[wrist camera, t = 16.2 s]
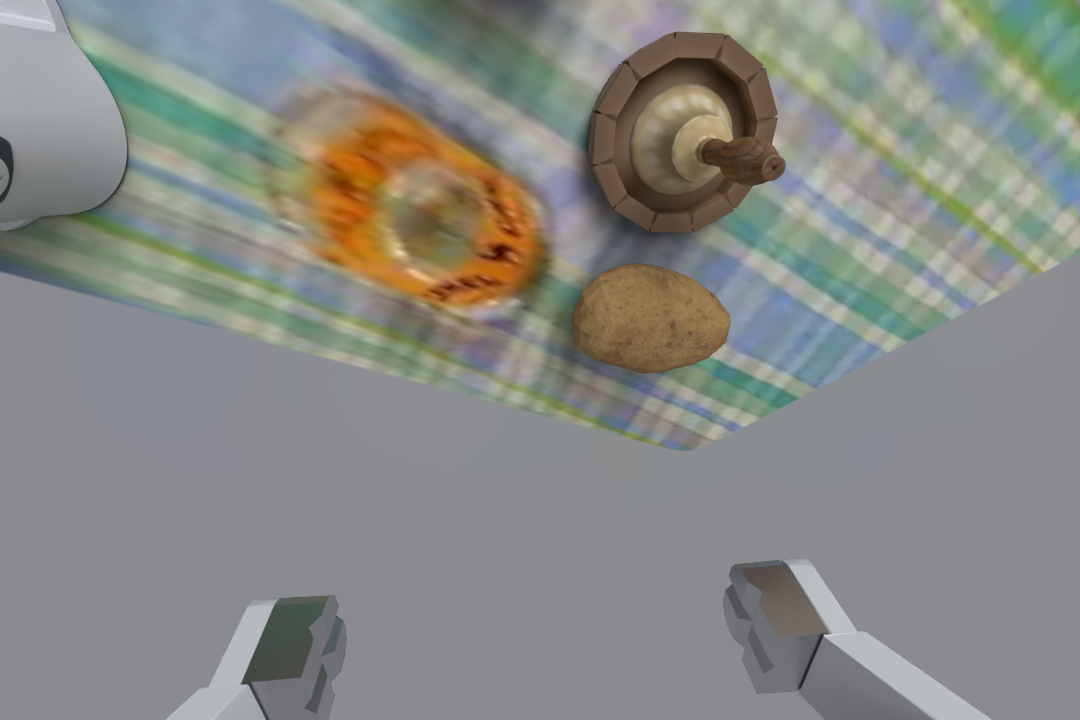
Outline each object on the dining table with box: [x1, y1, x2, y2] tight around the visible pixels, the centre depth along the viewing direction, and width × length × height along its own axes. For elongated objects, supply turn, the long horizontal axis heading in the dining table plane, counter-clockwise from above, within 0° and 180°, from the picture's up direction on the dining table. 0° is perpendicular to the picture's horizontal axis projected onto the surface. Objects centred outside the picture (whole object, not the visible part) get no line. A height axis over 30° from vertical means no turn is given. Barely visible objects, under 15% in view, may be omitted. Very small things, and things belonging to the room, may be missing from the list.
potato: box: [572, 263, 731, 373], centre depth 45 cm, size 10×14×8 cm
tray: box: [588, 32, 778, 232], centre depth 40 cm, size 14×14×3 cm
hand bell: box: [630, 83, 785, 196], centre depth 33 cm, size 8×8×16 cm
